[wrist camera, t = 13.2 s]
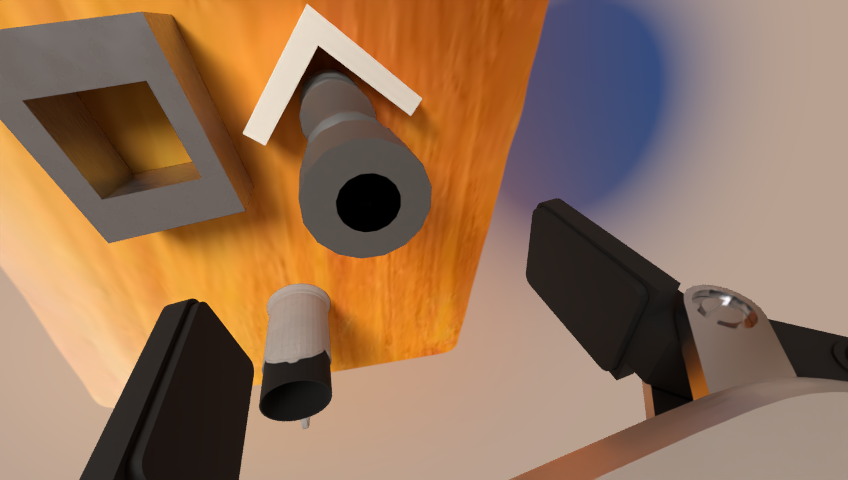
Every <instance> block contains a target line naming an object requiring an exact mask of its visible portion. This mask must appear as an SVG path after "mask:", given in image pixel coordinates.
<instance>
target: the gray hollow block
mask: <svg viewBox="0 0 848 480" xmlns="http://www.w3.org/2000/svg"><path fill="white" fill-rule="evenodd" d="M141 81H147V83H148V84H149V86H150V88H151V90H152V91H153V93H154V95H155V97H156V98H157V100H158V102H159V104H160V105H161V107H162V109H163V111H164V112H165V114H166V116H167V118H168V119H169V121H170V123H171V125H172V126H173V128H174V130H175V132H176V133H177V135H178V137H179V139H180V140H181V142H182V144H183V146H184V147H185V149H186V151H187V153H188V154H189V156H190V158H191V160H192V161H193V162H190V163H185V164H180V165H175V166H170V167H165V168H160V169H155V170H151V171H146V172H141V173H136V174H133V173H132V172H131V170H130V169H129V168H128V166H127V165H126V163H125V162H124V161H123V159H122V158H121V156H120V155H119V153H118V152H117V151H116V149H115V148H114V146H113V145H112V144H111V142H110V141H109V139H108V138H107V136H106V135H105V134H104V132H103V131H102V129H101V128H100V126H99V125H98V124H97V122H96V121H95V119H94V118H93V117H92V115H91V114H90V112H89V111H88V109H87V108H86V107H85V105H84V104H83V102H82V101H81V99H80V98H79V97H78V95H77V94H76V92H78V91H85V90H91V89H97V88H104V87H110V86H116V85H123V84H129V83H135V82H141ZM0 120H1V121H2V122H3V123H4V124H5V125H6V126H7V128H8V129H9V130H10V131H11V132H12V133H13V134H14V136H15V137H16V138H17V139H18V140H19V141H20V143H21V144H22V145H23V146H24V147H25V148H26V149H27V151H28V152H29V153H30V154H31V155H32V156H33V157H34V159H35V160H36V161H37V162H38V163H39V164H40V165H41V167H42V168H43V169H44V170H45V171H46V172H47V173H48V175H49V176H50V177H51V178H52V179H53V180H54V181H55V183H56V184H57V185H58V186H59V187H60V188H61V189H62V191H63V192H64V193H65V194H66V195H67V196H68V197H69V199H70V200H71V201H72V202H73V203H74V204H75V205H76V207H77V208H78V209H79V210H80V211H81V212H82V214H83V215H84V216H85V217H86V218H87V219H88V220H89V222H90V223H91V224H92V225H93V226H94V227H95V228H96V230H97V231H98V232H99V233H100V234H101V235H102V236H103V238H104V239H105V240H106V241H107V242H108V243H112V242H116V241H120V240H125V239H129V238H133V237H137V236H142V235H146V234H150V233H154V232H159V231H163V230H167V229H171V228H176V227H180V226H184V225H188V224H193V223H197V222H201V221H205V220H210V219H214V218H218V217H222V216H227V215H231V214H235V213H240V212H244V211H246V208H247V205H248V202H249V199H250V196H251V193H252V190H253V187H254V186H253V184H252V182H251V180H250V178H249V176H248V174H247V172H246V170H245V167H244V165H243V163H242V161H241V159H240V157H239V155H238V153H237V151H236V149H235V146H234V144H233V142H232V140H231V138H230V136H229V134H228V132H227V130H226V128H225V125H224V123H223V121H222V119H221V117H220V115H219V113H218V111H217V109H216V107H215V104H214V102H213V100H212V98H211V96H210V94H209V92H208V90H207V88H206V86H205V83H204V81H203V79H202V77H201V75H200V73H199V71H198V69H197V67H196V65H195V62H194V60H193V58H192V56H191V54H190V52H189V50H188V48H187V46H186V44H185V41H184V39H183V37H182V35H181V33H180V31H179V29H178V27H177V25H176V23H175V20H174V18H173V16H172V15H168V14H158V13H148V12H137V13H129V14H121V15H113V16H105V17H97V18H89V19H80V20H72V21H64V22H56V23H48V24H40V25H32V26H24V27H16V28H8V29H0Z"/></svg>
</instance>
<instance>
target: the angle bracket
mask: <svg viewBox="0 0 848 480" xmlns="http://www.w3.org/2000/svg"><path fill="white" fill-rule="evenodd" d="M318 46H320V47H321V48H322V49H324V50H325V51H326V52H327V53H329V54H330V55H331V56H333V57H334V58H335V59H337V60H338V61H339V62H341V63H342V64H343V65H344V66H346V67H347V68H348V69H350V70H351V71H352V72H354V73H355V74H356V75H358V76H359V77H360V78H361V79H363V80H364V81H365V82H367V83H368V84H369V85H371V86H372V87H373V88H375V89H376V90H377V91H378V92H380V93H381V94H382V95H384V96H385V97H386V98H388V99H389V100H390V101H392V102H393V103H394V104H395V105H397V106H398V107H399V108H401V109H402V110H403V111H405V112H406V113H407V114H409V115H410V116H411V115H412V114H413V112H414V111H415V109H416V108H417V106H418V105H419V103H420V102H421V100H422V98H421V97H420V96H419V95H417V94H416V93H415V92H414V91H413V90H411V89H410V88H409V87H408V86H406V85H405V84H404V83H403V82H402V81H400V80H399V79H398V78H397V77H396V76H394V75H393V74H392V73H391V72H389V71H388V70H387V69H386V68H385V67H383V66H382V65H381V64H380V63H379V62H377V61H376V60H375V59H374V58H372V57H371V56H370V55H369V54H368V53H366V52H365V51H364V50H363V49H362V48H360V47H359V46H358V45H357V44H355V43H354V42H353V41H352V40H351V39H349V38H348V37H347V36H346V35H345V34H343V33H342V32H341V31H340V30H338V29H337V28H336V27H335V26H334V25H332V24H331V23H330V22H329V21H327V20H326V19H325V18H324V17H323V16H321V15H320V14H319V13H318V12H316V11H315V10H314V9H313V8H312V7H310V6H309V5H308V4H307V5H306V7H305V9H304V11H303V13H302V15H301V17H300V19H299V21H298V23H297V25H296V27H295V29H294V31H293V33H292V35H291V37H290V39H289V41H288V43H287V45H286V47H285V49H284V51H283V53H282V55H281V57H280V59H279V61H278V63H277V65H276V67H275V69H274V71H273V73H272V75H271V77H270V79H269V81H268V83H267V85H266V87H265V89H264V91H263V93H262V95H261V97H260V99H259V101H258V103H257V105H256V107H255V109H254V111H253V113H252V115H251V117H250V119H249V121H248V123H247V125H246V127H245V130H244V132H243V134H244V135H246V136H248V137H250V138H252V139H253V140H255V141H257V142H259V143H261V144H263V145H266V143H267V141H268V140H269V138H270V136H271V134H272V132H273V130H274V128H275V126H276V124H277V123H278V121H279V119H280V117H281V115H282V113H283V111H284V109H285V107H286V105H287V104H288V102H289V100H290V98H291V96H292V94H293V92H294V90H295V88H296V87H297V85H298V83H299V81H300V79H301V77H302V75H303V73H304V71H305V69H306V68H307V66H308V64H309V62H310V60H311V58H312V56H313V54H314V52H315V51H316V49H317V47H318Z"/></svg>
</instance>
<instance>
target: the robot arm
mask: <svg viewBox="0 0 848 480" xmlns="http://www.w3.org/2000/svg"><path fill="white" fill-rule="evenodd" d="M526 278H527V281H528V282H529V284H530V285H531V287H532V288H533V289H534V290H535V291H536V292H537V294H538V295H539V296H540V297H541V298H542V300H543V301H544V302H545V303H546V304H547V305H548V307H549V308H550V309H551V310H552V311H553V312H554V314H555V315H556V316H557V317H558V318H559V319H560V321H561V322H562V323H563V324H564V325H565V326H566V328H567V329H568V330H569V331H570V332H571V333H572V335H573V336H574V337H575V338H576V339H577V341H578V342H579V343H580V344H581V345H582V347H583V348H584V349H585V350H586V351H587V352H588V354H589V355H590V356H591V357H592V358H593V360H594V361H595V362H596V363H597V364H598V365H599V366H600V367H601V368H602V369H603V370H605V371H609V372H610V373H611V374H612V375H613V377H614V378H615V379H616V380H619V379H621V378H624V377H626V376H629V375H631V374H633V373H634V372H635V373H636V374H637V375H638V376H639V377H640V378H641V379H642V384H643V393H644V401H645V410H646V418H647V420H645V421H643V422H641V423H638V424H636V425H634V426H632V427H629V428H627V429H625V430H622V431H620V432H618V433H616V434H613V435H611V436H608V437H606V438H604V439H602V440H599V441H597V442H595V443H592V444H590V445H588V446H585V447H583V448H581V449H579V450H576V451H574V452H572V453H569V454H567V455H565V456H563V457H560V458H558V459H555V460H553V461H551V462H549V463H546V464H544V465H542V466H539V467H537V468H535V469H533V470H530V471H528V472H526V473H524V474H521V475H519V476H517V477H514V478H512V479H510V480H848V337H844V336H840V335H836V334H831V333H827V332H822V331H818V330H814V329H809V328H805V327H800V326H796V325H792V324H787V323H783V322H779V321H774V320H770V319H768V318H767V316H766V315H765V314H764V312H763V311H762V310H761V308H760V307H759V306H757V305H756V304H755V303H754V302H752V301H751V300H750V299H748V298H746V297H745V296H742V295H741V294H739V293H737V292H734V291H732V290H729V289H727V288H722V287H718V286H713V285H698V286H693V287H691V288H689V289H687V290H686V292H685V293H684V294H683V293H682V292H680V291H679V290H678V288H679V285H680V283H679V282H678V281H677V280H675V279H674V278H672V277H671V276H669V275H668V274H667V273H665V272H664V271H662V270H661V269H659V268H658V267H657V266H655V265H654V264H652V263H651V262H649V261H648V260H647V259H645V258H644V257H642V256H641V255H639V254H638V253H637V252H635V251H634V250H632V249H631V248H629V247H628V246H627V245H625V244H624V243H622V242H621V241H620V240H618V239H617V238H615V237H614V236H612V235H611V234H610V233H608V232H607V231H605V230H604V229H602V228H601V227H599V226H598V225H597V224H595V223H594V222H592V221H591V220H589V219H588V218H587V217H585V216H584V215H582V214H581V213H580V212H578V211H577V210H575V209H574V208H572V207H571V206H569V205H568V204H567V203H565V202H564V201H562V200H561V199H553V200H549V201H545V202H542V203H539V204H538V206H537V209H535V210H534V211H533V215H532V224H531V233H530V242H529V252H528V259H527V268H526ZM253 377H254V367H253V364H252V361H251V360H250V358H249V357H248V356H247V355H246V353H245V352H244V351H243V349H242V348H241V347H240V345H239V344H238V343H237V342H236V340H235V339H234V338H233V336H232V335H231V334H230V332H229V331H228V330H227V329H226V327H225V326H224V325H223V323H222V322H221V321H220V319H219V318H218V317H217V316H216V314H215V313H214V312H213V310H212V309H211V308H210V307H209V305H208V304H207V303H206V302H199V301H198V300H196V299H188V300H185V301H181V302H178V303H174V304H170V305H167V306H166V307H164V309H163V310H162V312H161V314H160V316H159V318H158V320H157V322H156V324H155V326H154V328H153V330H152V332H151V334H150V337H149V339H148V341H147V343H146V345H145V347H144V349H143V351H142V353H141V355H140V357H139V359H138V361H137V363H136V365H135V367H134V369H133V371H132V373H131V375H130V377H129V379H128V381H127V383H126V386H125V388H124V390H123V392H122V394H121V396H120V398H119V400H118V402H117V404H116V406H115V408H114V410H113V412H112V414H111V416H110V418H109V420H108V422H107V424H106V427H105V428H104V431H103V433H102V435H101V437H100V439H99V441H98V443H97V445H96V447H95V449H94V451H93V453H92V455H91V457H90V459H89V461H88V463H87V465H86V467H85V469H84V471H83V473H82V475H81V477H80V480H239V474H240V467H241V460H242V453H243V446H244V439H245V432H246V425H247V417H248V411H249V404H250V396H251V390H252V384H253Z"/></svg>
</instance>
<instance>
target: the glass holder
mask: <svg viewBox="0 0 848 480" xmlns="http://www.w3.org/2000/svg"><path fill="white" fill-rule="evenodd" d="M329 309H330V299H329V297H328V295H327V294H326V292H325V291H323V290H322V289H320V288H319V287H316V286H314V285H310V284H293V285H289V286H286V287H283V288H281V289H279V290H278V291H276V292H275V293H274V294H273V295H272V296H271V297H270V299H269V301H268V304H267V312H268V315H269V322H268V330H267V337H266V345H265V352H264V359H263V367H262V374H263V380H262V387H261V395H260V404H259V408H260V411H261V413H262V414H263V415H264V416H266V417H268V418H270V419H272V420H277V421H296V420H301V424H302V428H303V429H306V428H308V427H309V420H310V416H312V415H315V414H317V413H319V412H320V411H322V410H323V409H324V408H325V407H326V406H327V405H328V404H329V402H330V401H331V398H332V387H331V371H330V364H331V349H330V335H329V321H328V312H329Z"/></svg>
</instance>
